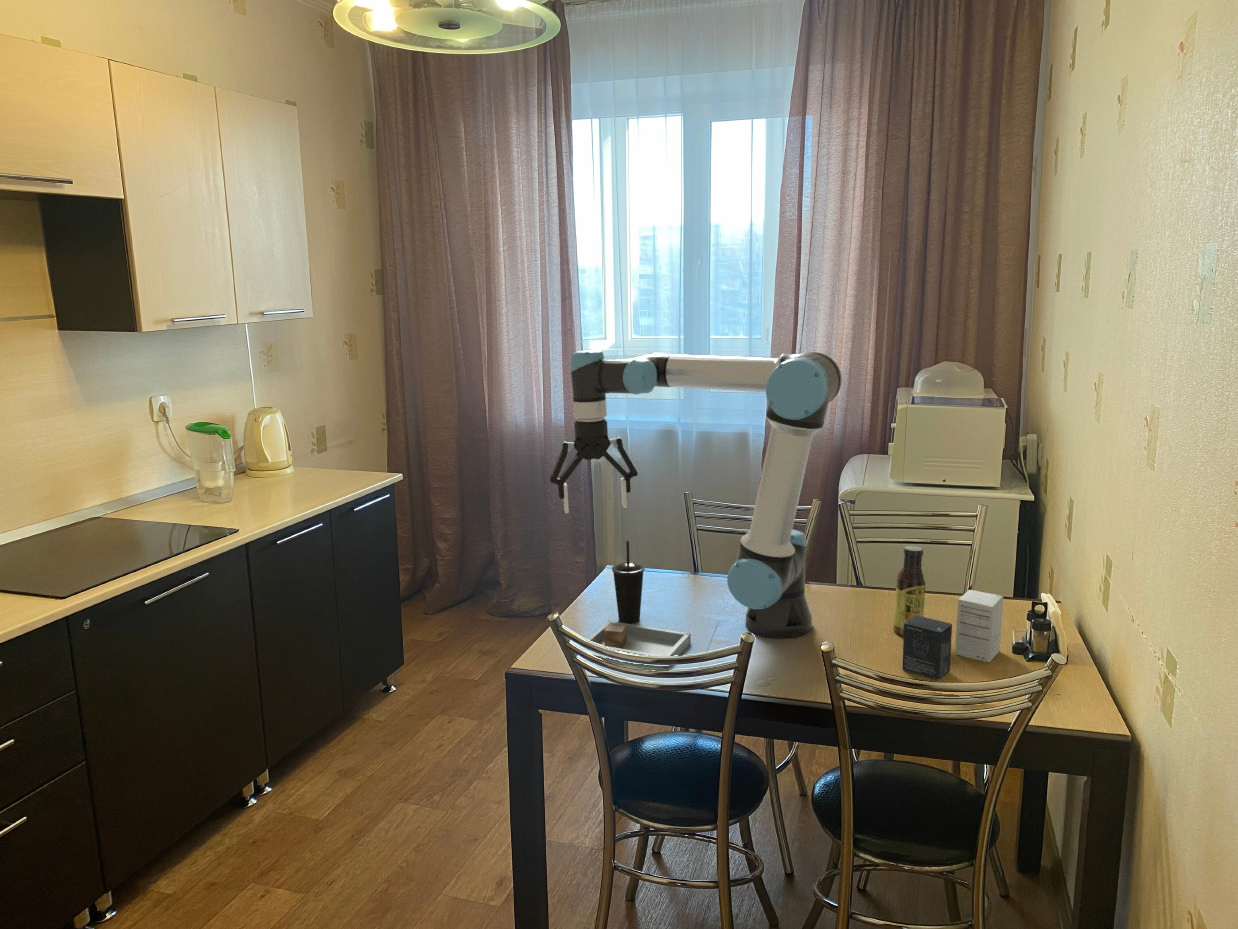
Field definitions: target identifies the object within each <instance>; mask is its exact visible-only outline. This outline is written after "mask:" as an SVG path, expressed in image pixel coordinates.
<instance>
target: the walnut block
mask: <svg viewBox="0 0 1238 929" xmlns="http://www.w3.org/2000/svg"><path fill="white" fill-rule="evenodd" d="M604 641H605V646H609V647H614V648H620V649H623V647H624V645H625V644H626V642H627V628H626V625H622V624H608V626H607V627H606V629H605V630H604Z"/></svg>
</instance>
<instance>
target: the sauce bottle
mask: <svg viewBox="0 0 1238 929" xmlns="http://www.w3.org/2000/svg"><path fill="white" fill-rule="evenodd" d="M903 554H904V558H903V567H902V568H901V570H900V571H899V573H898V575H897V578H896V586H895V596H894V597H895V598H894V610H893V631H894V632H895V634H898V635H899V636H904V623H905V622H906V621H908V620H909V619H911V618H912V617H914V616H916V615H918V616H922V617H924V612H925V611H924V610H925V608H924V607H925V599H926V598H925V597H926V587H927V586H926V581H925V578H924V574H923V569H922V562H923V560H922V559H923V556H924V549H923V547H920V546H917V545H916V546H915V545H907V546H904V549H903Z"/></svg>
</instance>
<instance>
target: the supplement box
mask: <svg viewBox="0 0 1238 929" xmlns="http://www.w3.org/2000/svg"><path fill="white" fill-rule="evenodd" d="M1003 604H1004V596H1002V595H999V594H994V593H989V592H983V591H978V590H975V589H973V590H972V589H968V590H967V591H966V592H965V593H964V594H962V595H961V596H960V597H959V598H958V600H957V613H956V614H957V617H956V631H955V650H954V654H955V655H957V656H961V657H964V658H968V659H972V660H976V661H981V662H984V663H985V662H986V663H991V662H992V661H993V659H994V658H995V657H996V656H997V654H999V652H1000V651H1001V638H1002V636H1001V635H1002V623H1003V622H1002V621H1003V606H1004V605H1003Z"/></svg>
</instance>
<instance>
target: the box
mask: <svg viewBox="0 0 1238 929" xmlns="http://www.w3.org/2000/svg"><path fill="white" fill-rule="evenodd" d="M952 631H953V623H951V622H945V621H941V620H937V619H934V618H930V617H925V616H923V617H922V616H918V615H916V616H914V617H912V618H911V619H909V620H908V621H906V622H905V623H904V635H903V640H902V641H903V643H902V644H903V645H902V647H903V648H902V670H903V671H905V672H908V671H909V673H912V674H915V675H919V676H922V675H923V676H924V677H927V678H930V679H933V678H935V679H934V680H936V681H938V680H937V679H939V680H941V679H942V678H943V677H945V676H946V675H948V674H949V673H950V671H951V656H952V655H951V652H952V651H951V650H952V637H953V636H952V634H953V632H952ZM945 674H946V675H945ZM944 675H945V676H944ZM942 676H943V677H942ZM941 677H942V678H941ZM940 678H941V679H940Z"/></svg>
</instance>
